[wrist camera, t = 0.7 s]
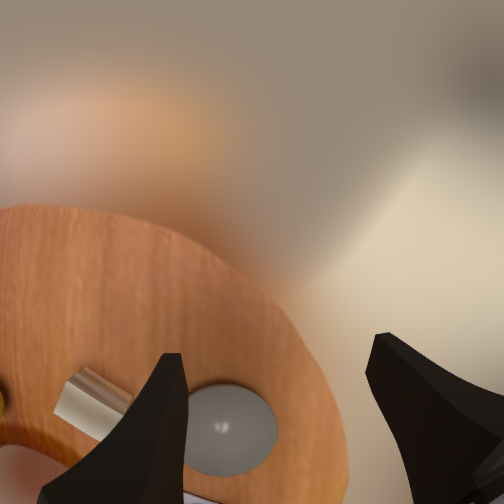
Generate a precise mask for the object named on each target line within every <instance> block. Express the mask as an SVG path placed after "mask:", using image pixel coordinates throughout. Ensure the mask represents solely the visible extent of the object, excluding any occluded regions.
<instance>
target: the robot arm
mask: <svg viewBox="0 0 504 504" xmlns="http://www.w3.org/2000/svg"><path fill="white" fill-rule="evenodd" d="M365 374H366V377H367V380H368V383H369V386H370V388H371V391H372V394H373V396H374V398H375V400H376V402H377V404H378V406H379V408H380V410H381V412H382V414H383V416H384V418H385V420H386V422H387V424H388V426H389V428H390V430H391V432H392V433H393V435H394V438H395V440H396V442H397V445H398V447H399V450H400V453H401V456H402V459H403V462H404V466H405V469H406V472H407V476H408V480H409V484H410V488H411V493H412V497H413V502H414V504H504V396H503V395H499V394H496V393H493V392H491V391H488V390H485V389H483V388H480V387H478V386H476V385H473V384H471V383H469V382H467V381H465V380H463V379H461V378H459V377H457V376H455V375H454V374H452V373H450V372H448V371H447V370H445V369H443V368H442V367H440V366H439V365H437V364H435V363H434V362H432V361H431V360H429V359H428V358H426V357H425V356H423V355H422V354H420V353H419V352H417V351H416V350H415V349H413V348H412V347H410V346H409V345H408V344H406V343H405V342H403V341H402V340H400V339H399V338H397V337H396V336H394V335H393V334H391V333H389V332H387V333H382V334H376V335H375V339H374V342H373V346H372V350H371V354H370V358H369V361H368V365H367V368H366V372H365ZM188 417H189V396H188V387H187V383H186V378H185V373H184V368H183V363H182V358H181V353H164V354H163V355H162V356H161V357H160V359H159V361H158V363H157V365H156V367H155V369H154V370H153V372H152V374H151V376H150V377H149V379H148V381H147V382H146V384H145V386H144V387H143V389H142V390H141V392H140V393H139V395H138V397H137V398H136V399H135V401H134V402H133V404H132V405H131V406H130V408H129V409H128V411H127V412H126V413H125V415H124V416H123V417H122V419H121V420H120V421H119V422H118V423H117V425H116V426H115V427H114V428H113V429H112V430H111V432H110V433H109V434H108V435H107V436H106V437H105V438H104V439H103V440H102V441H101V442H100V443H99V444H98V445H97V446H96V447H95V448H94V449H93V450H92V451H91V452H90V453H89V454H87V455H86V456H85V457H84V458H83V459H81V460H80V461H79V462H78V463H76V464H75V465H74V466H73V467H71V468H70V469H69V470H67V471H66V472H65V473H63V474H62V475H60V476H59V477H57V478H56V479H54V480H53V481H51V482H50V483H48V484H46V485H44V486H43V487H42V489H41V492H40V494H39V496H38V500H37V504H218V503H215V502H212V501H209V500H206V499H203V498H200V497H197V496H195V495H192V494H189V493H186V492H183V465H184V455H185V445H186V436H187V426H188Z"/></svg>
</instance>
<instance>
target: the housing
mask: <svg viewBox="0 0 504 504" xmlns="http://www.w3.org/2000/svg"><path fill="white" fill-rule="evenodd" d="M132 398H133V395H131V394H130V393H128V392H126V391H124V390H123V389H121V388H119V387H118V386H116V385H114V384H113V383H111V382H109V381H108V380H106V379H104V378H103V377H101V376H100V375H98V374H97V373H95V372H93V371H92V370H90V369H89V368H87V367H86V366H85V367H84V368H83V369H82V370H80V371H79V372H78V373H76V374H75V375H74V376H72V377H71V378H70V379H68V380H67V382H66V384H65V386H64V389H63V391H62V393H61V396H60V398H59V400H58V403H57V405H56V408H55V410H54V413H55V414H57V415H58V416H60V417H61V418H63V419H64V420H66V421H67V422H69V423H70V424H72V425H73V426H75V427H76V428H78V429H80V430H81V431H83V432H84V433H86V434H88V435H89V436H91V437H93V438H94V439H96V440H98V441H100V442H101V441H102V440H103V439H104V438H105V437H106V436H107V435H108V434H109V433H110V432H111V430H112V429H113V428H114V427H115V426H116V425H117V423H118V422H119V421H120V420H121V419H122V417H123V416H124V414H125V412H126V410H127V408H128V406H129V404H130V402H131V400H132Z"/></svg>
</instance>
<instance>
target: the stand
mask: <svg viewBox="0 0 504 504" xmlns="http://www.w3.org/2000/svg"><path fill="white" fill-rule="evenodd" d="M188 396H189V417H188V426H187V436H186V445H185V455H184V462H185V463H186V464H187V465H189V466H190V467H191V468H193V469H195V470H197V471H199V472H201V473H204V474H207V475H212V476H234V475H238V474H242V473H245V472H247V471H249V470H251V469H253V468H255V467H256V466H258V465H259V464H260V463H262V462H263V461H264V460H265V459H266V458H267V457H268V455H269V454H270V453H271V451H272V449H273V447H274V445H275V442H276V438H277V422H276V418H275V416H274V414H273V412H272V410H271V408H270V407H269V406H268V404H267V403H266V402H265V401H264V399H262V398H261V397H260V396H259V395H258V394H256V393H255V392H254V391H252V390H250V389H248V388H245V387H243V386H239V385H234V384H214V385H209V386H206V387H203V388H200V389H198V390H196V391H194V392H193V393H191V394H190V395H188Z"/></svg>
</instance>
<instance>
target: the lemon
mask: <svg viewBox="0 0 504 504" xmlns="http://www.w3.org/2000/svg"><path fill="white" fill-rule="evenodd" d="M3 410H4V400H3V396H2V393H1V391H0V417H1V416H2V413H3Z"/></svg>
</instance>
